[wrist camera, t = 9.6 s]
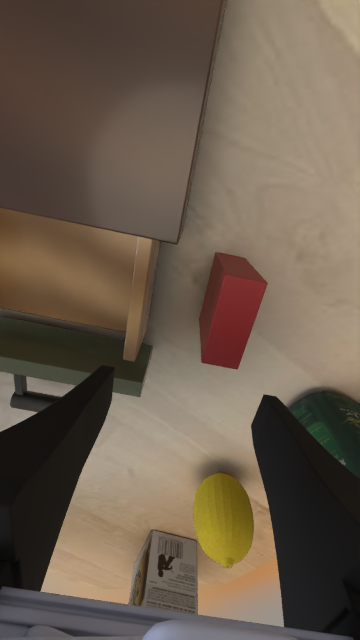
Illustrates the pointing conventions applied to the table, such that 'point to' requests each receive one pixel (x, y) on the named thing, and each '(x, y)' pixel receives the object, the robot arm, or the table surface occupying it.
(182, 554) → the coffee box
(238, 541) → the lemon
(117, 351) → the drawer
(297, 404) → the coffee jar
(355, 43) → the table surface
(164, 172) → the cabinet
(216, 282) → the red rectangular block
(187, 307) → the table surface
